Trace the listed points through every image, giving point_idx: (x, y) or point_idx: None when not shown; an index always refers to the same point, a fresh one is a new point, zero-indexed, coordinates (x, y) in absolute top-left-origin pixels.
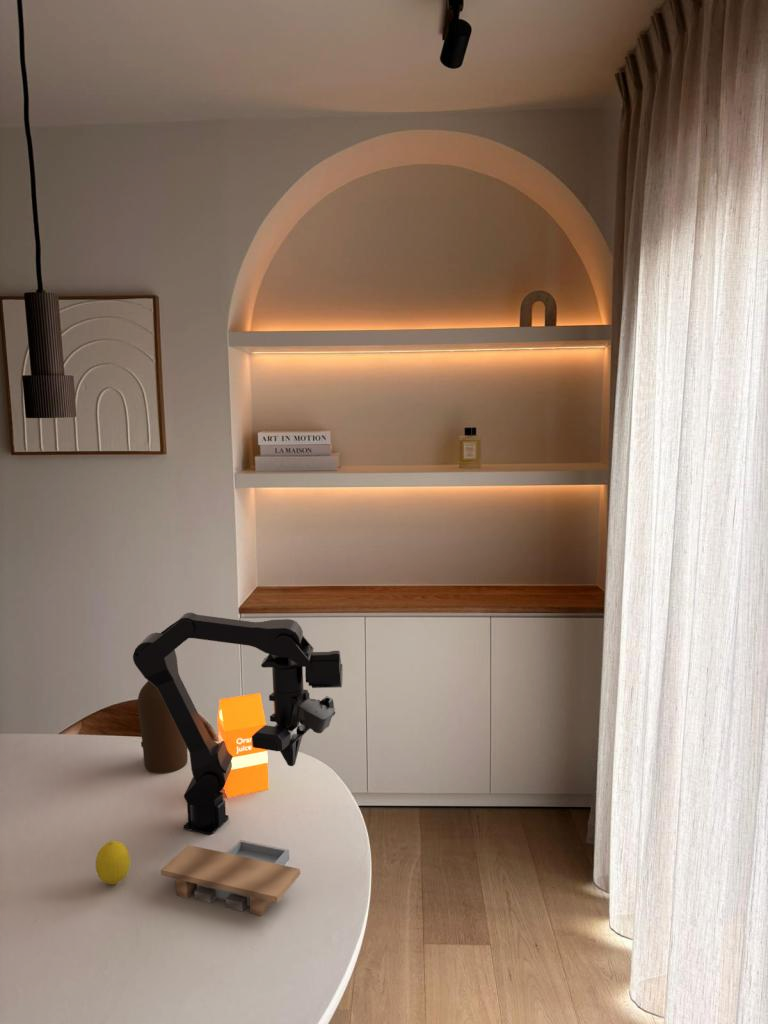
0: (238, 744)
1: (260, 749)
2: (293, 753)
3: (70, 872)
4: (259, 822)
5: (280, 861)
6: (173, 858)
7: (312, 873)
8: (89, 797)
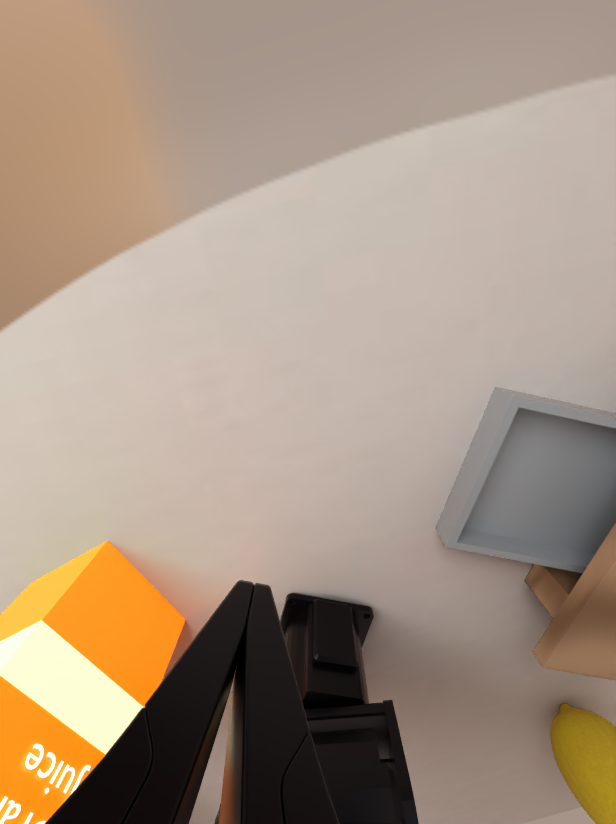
0: None
1: (10, 706)
2: (291, 712)
3: (511, 768)
4: (296, 517)
5: (566, 406)
6: (608, 678)
7: (585, 290)
8: None
